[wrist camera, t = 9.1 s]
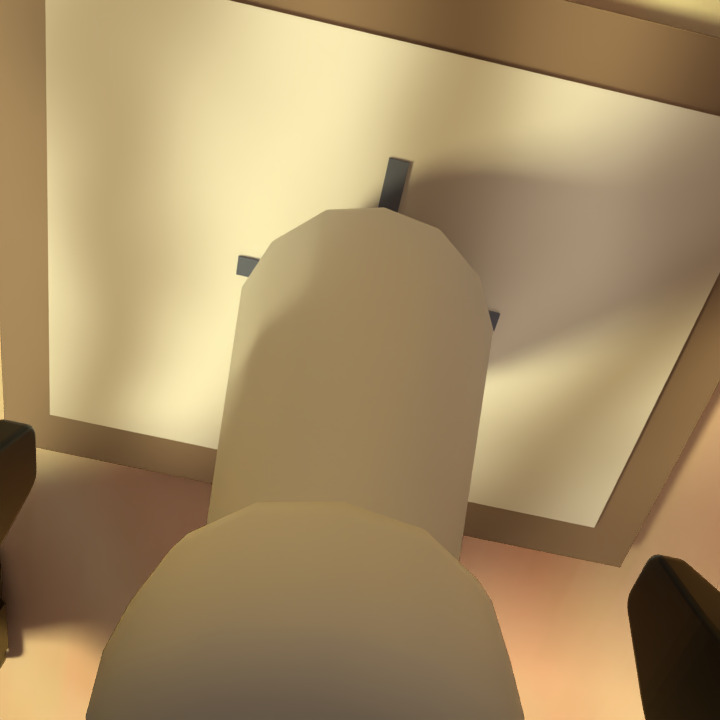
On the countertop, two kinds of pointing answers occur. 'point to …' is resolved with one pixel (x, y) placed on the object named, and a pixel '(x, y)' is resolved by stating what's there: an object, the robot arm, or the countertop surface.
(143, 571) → the countertop surface
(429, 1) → the picture frame
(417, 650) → the salt shaker
